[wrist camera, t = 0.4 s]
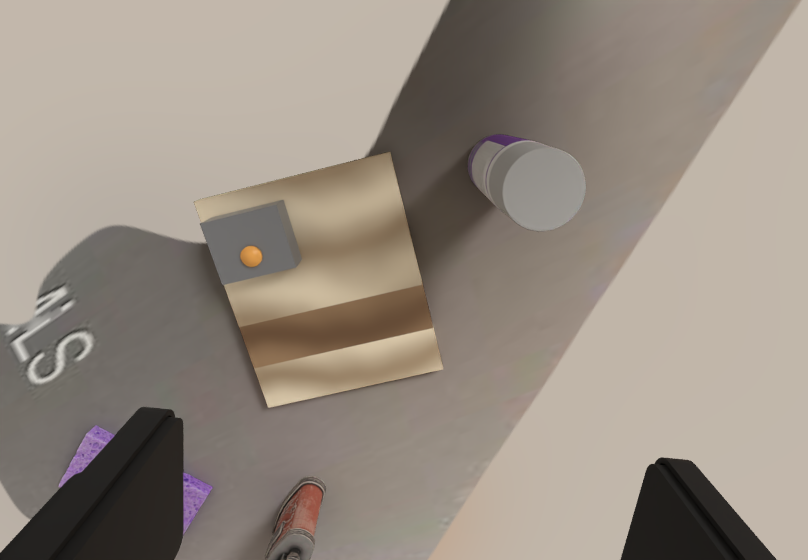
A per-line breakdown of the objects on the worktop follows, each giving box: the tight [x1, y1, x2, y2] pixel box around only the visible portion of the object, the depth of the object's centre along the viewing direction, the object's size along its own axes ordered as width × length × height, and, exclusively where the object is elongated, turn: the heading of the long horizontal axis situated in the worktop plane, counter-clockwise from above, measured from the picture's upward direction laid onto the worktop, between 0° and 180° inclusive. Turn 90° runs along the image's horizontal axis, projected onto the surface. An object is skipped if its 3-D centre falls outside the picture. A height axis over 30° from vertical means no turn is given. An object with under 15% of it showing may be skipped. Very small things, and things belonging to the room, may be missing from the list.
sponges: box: [58, 426, 213, 535], centre depth 51 cm, size 7×13×2 cm, turn 56°
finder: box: [200, 200, 302, 285], centre depth 42 cm, size 5×6×3 cm
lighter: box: [265, 476, 326, 560], centre depth 48 cm, size 8×3×10 cm, turn 151°
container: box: [468, 134, 586, 231], centre depth 35 cm, size 5×5×15 cm
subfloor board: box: [194, 152, 443, 408], centre depth 45 cm, size 19×16×1 cm
